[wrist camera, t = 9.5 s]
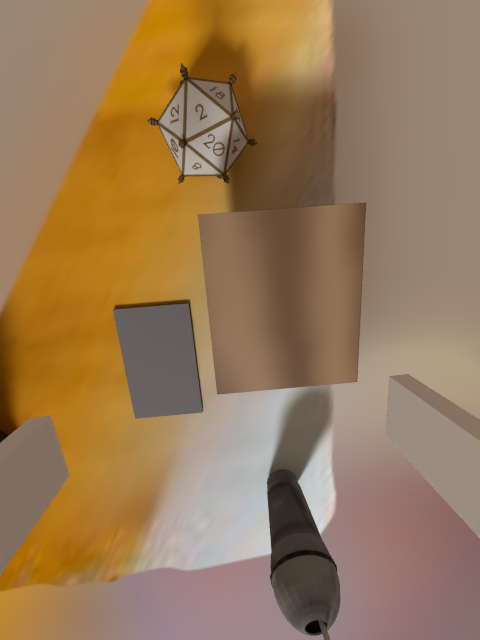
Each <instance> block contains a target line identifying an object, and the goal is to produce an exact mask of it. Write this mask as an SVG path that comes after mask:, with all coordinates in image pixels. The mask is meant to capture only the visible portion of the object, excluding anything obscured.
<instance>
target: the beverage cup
mask: <svg viewBox="0 0 480 640" xmlns="http://www.w3.org/2000/svg"><path fill="white" fill-rule="evenodd" d="M267 486H268V487H267V488H268V491H267V495H268V509H269V522H270V536H271V549H272V553H271V575H270V579H271V584H272V587H273V589H274V594H275V598H276V601H277V604H278V606H279V608H280V610H281V611H282V613H283V615H284V616H285V617H286V619H287V621H288V622H289V623H290V624H291V625H292V626H293V627H294V628H295V629H297V630H298V631H300V632H301V633H304V634H307V635H314V636H315V635H320V634H323V637H324V640H330V638H329V635H328V632H327V630H328V629H329V628H330V627H331V626H332V625H333V623H334V621H335V619H336V617H337V614H338V611H339V607H340V584H339V578H338V574H337V566H336V564H335V562H334V561H333V559H332V558H331V556H330V554H329V552H328V550H327V548H326V546H325V544H324V542H323V541H322V539H321V536H320V534H319V531H318V529H317V526H316V524H315V522H314V519H313V517H312V514H311V512H310V509H309V507H308V504H307V502H306V500H305V497H304V495H303V492H302V490H301V487H300V485H299V484H298V482H297V479H296V477H295V475H294V474H293V473H292V472H290V471H287V470H279V471H276V472H274V473H273V474H271V475H270V477H269V478H268V481H267Z"/></svg>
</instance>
